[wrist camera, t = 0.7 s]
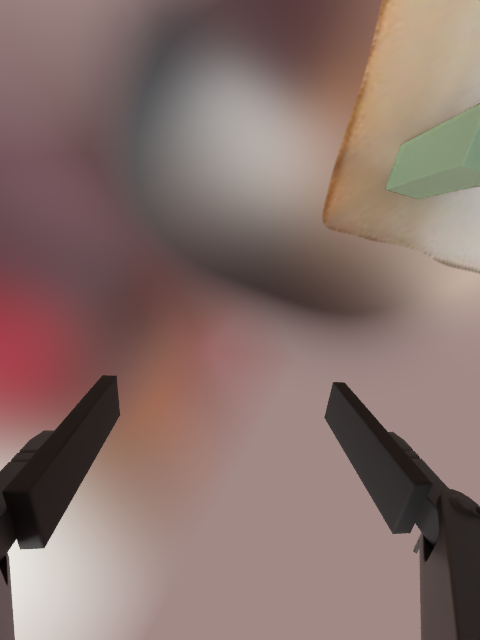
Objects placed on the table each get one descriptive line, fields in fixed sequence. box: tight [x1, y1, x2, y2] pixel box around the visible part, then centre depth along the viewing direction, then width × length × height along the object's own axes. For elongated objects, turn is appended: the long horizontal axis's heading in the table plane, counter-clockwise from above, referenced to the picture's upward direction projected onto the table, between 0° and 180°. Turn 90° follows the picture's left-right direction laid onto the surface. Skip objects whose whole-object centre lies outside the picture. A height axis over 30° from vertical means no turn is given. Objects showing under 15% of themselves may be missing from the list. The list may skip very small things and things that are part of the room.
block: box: [386, 104, 480, 199], centre depth 25 cm, size 5×5×10 cm
